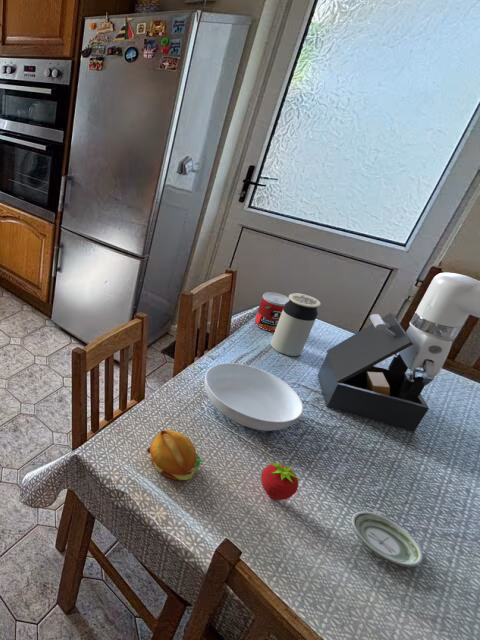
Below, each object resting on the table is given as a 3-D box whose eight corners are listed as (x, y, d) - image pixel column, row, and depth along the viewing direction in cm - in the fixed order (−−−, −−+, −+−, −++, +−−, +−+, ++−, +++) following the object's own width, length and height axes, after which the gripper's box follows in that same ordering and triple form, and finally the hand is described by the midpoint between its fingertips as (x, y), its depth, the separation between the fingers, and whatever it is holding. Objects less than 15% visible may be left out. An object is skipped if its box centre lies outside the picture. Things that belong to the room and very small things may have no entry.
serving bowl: (224, 371, 120) (230, 352, 117) (308, 418, 104) (318, 397, 101) (183, 401, 109) (188, 381, 106) (270, 458, 94) (279, 436, 91)
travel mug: (302, 360, 124) (323, 309, 116) (270, 351, 127) (289, 302, 120) (299, 345, 130) (319, 297, 122) (269, 338, 134) (287, 290, 126)
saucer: (423, 550, 76) (429, 542, 75) (409, 585, 71) (416, 578, 70) (356, 508, 83) (361, 501, 82) (339, 538, 78) (344, 530, 77)
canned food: (256, 329, 138) (266, 301, 133) (251, 317, 144) (260, 290, 140) (283, 334, 135) (294, 306, 130) (277, 321, 142) (287, 294, 137)
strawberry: (248, 497, 85) (262, 465, 81) (262, 477, 89) (276, 444, 85) (281, 520, 81) (298, 486, 77) (294, 497, 85) (310, 464, 81)
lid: (394, 314, 104) (374, 301, 105) (413, 344, 93) (391, 329, 94) (329, 352, 114) (311, 340, 115) (339, 383, 103) (320, 370, 104)
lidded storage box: (395, 395, 110) (408, 372, 107) (414, 432, 99) (429, 408, 96) (317, 375, 118) (327, 353, 114) (326, 407, 107) (337, 384, 104)
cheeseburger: (204, 461, 93) (211, 438, 87) (184, 500, 87) (190, 478, 82) (159, 435, 99) (163, 411, 94) (138, 470, 94) (141, 447, 88)
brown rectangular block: (382, 372, 106) (366, 371, 108) (389, 386, 102) (373, 385, 103) (382, 394, 108) (367, 393, 110) (389, 410, 103) (373, 408, 105)
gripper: (475, 350, 87) (437, 411, 94) (441, 310, 100) (410, 366, 108) (426, 340, 90) (393, 399, 97) (400, 303, 104) (372, 357, 111)
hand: (402, 382), depth 102 cm, fingers open, 8 cm apart
